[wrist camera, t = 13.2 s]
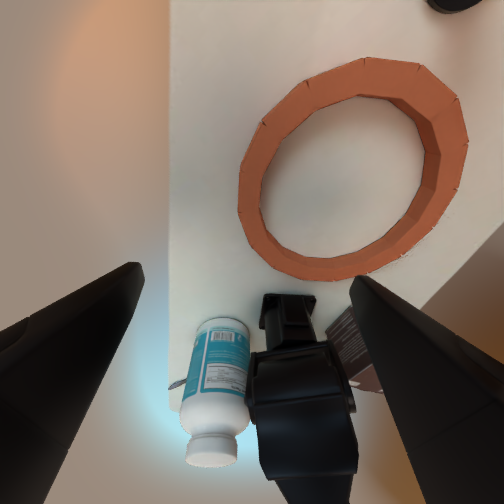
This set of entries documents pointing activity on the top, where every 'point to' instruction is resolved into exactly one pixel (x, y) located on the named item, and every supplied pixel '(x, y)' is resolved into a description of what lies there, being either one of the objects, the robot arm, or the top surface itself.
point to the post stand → (452, 5)
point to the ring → (336, 90)
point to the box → (353, 353)
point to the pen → (177, 384)
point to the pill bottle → (216, 393)
